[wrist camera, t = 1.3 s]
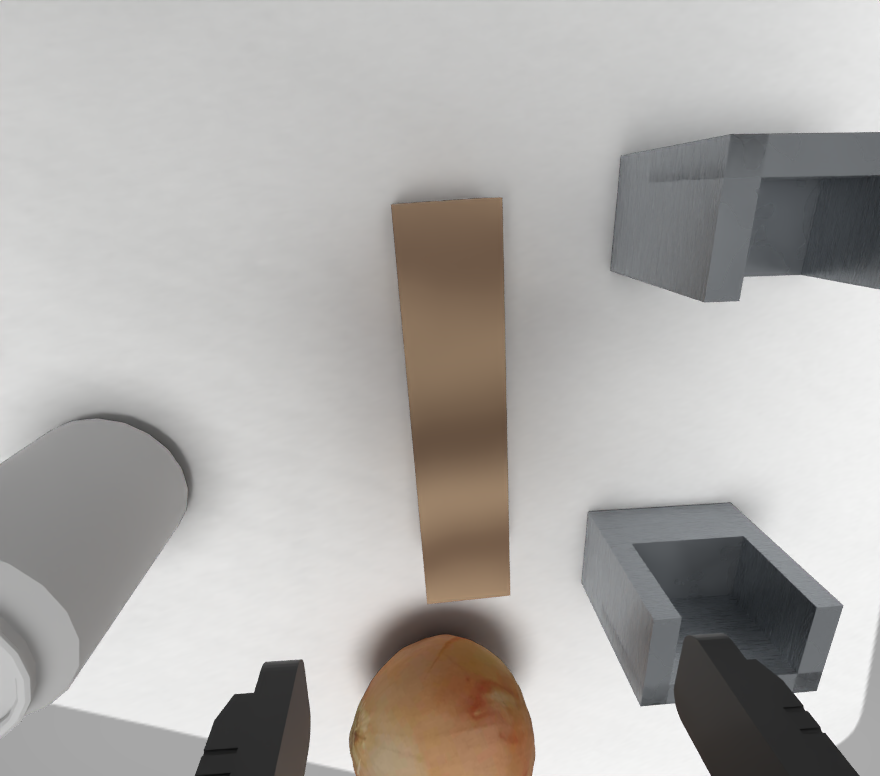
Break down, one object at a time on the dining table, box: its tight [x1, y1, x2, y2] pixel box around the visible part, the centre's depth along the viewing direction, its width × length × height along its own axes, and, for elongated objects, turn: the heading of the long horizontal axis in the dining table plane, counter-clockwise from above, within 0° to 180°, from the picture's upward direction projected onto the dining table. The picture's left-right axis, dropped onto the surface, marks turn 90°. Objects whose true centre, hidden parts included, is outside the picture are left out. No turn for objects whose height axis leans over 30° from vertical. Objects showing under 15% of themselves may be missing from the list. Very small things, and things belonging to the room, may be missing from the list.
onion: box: [349, 634, 535, 776], centre depth 27 cm, size 10×10×10 cm
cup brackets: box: [582, 132, 880, 706], centre depth 23 cm, size 23×8×8 cm, turn 1°
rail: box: [391, 198, 510, 604], centre depth 24 cm, size 18×4×5 cm, turn 4°
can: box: [0, 418, 188, 739], centre depth 21 cm, size 8×8×12 cm
